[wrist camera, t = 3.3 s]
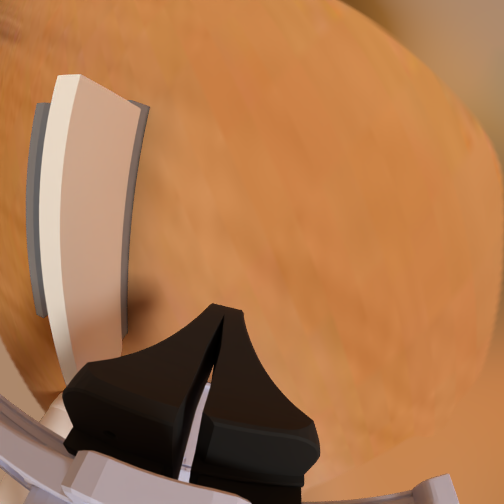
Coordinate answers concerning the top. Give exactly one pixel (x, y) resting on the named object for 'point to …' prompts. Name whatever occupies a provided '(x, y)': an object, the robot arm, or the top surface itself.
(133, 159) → the cable duct
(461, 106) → the top surface
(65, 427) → the bottle
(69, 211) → the panel
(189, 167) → the top surface
